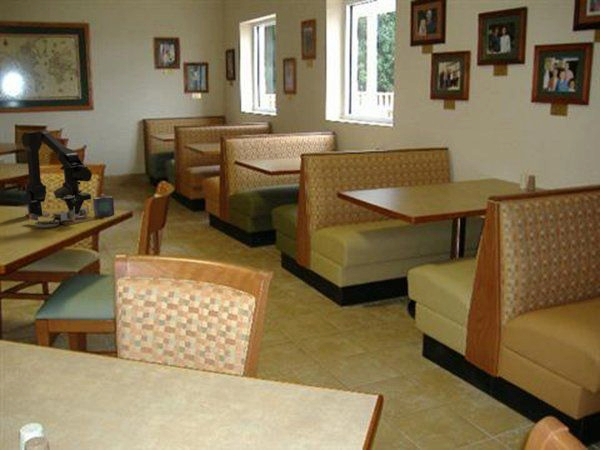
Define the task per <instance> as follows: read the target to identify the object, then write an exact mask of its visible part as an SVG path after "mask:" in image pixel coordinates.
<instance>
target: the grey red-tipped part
mask: <svg viewBox="0 0 600 450" xmlns="http://www.w3.org/2000/svg"><path fill="white" fill-rule="evenodd" d="M49 215H50V216H43V215H38V214H30V215H29V216H28V218H29V219H30V220H33V221H37V222H38V223H40V224H48V223H53V222H55V215H53V214H49Z"/></svg>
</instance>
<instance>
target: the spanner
mask: <svg viewBox="0 0 600 450" xmlns="http://www.w3.org/2000/svg"><path fill="white" fill-rule="evenodd" d="M83 210H87V215H88V216H89V214H90V211H89V210H90V209H89V207H86V206H81V209H80V211H79V214H76V213H75V208H74V209H72V210H69V209H67V210H62V211H63V212H61V211H57V212H53V213H52V215H55V220H56V221H57V220H58V221H64V220H67V219H70V218H71V215H70V213H71V212H74V217H79V216H84V212H83Z"/></svg>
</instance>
